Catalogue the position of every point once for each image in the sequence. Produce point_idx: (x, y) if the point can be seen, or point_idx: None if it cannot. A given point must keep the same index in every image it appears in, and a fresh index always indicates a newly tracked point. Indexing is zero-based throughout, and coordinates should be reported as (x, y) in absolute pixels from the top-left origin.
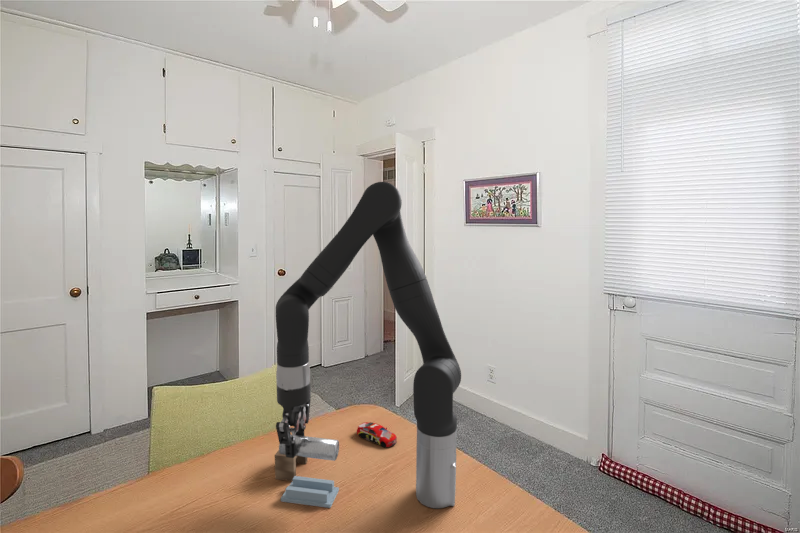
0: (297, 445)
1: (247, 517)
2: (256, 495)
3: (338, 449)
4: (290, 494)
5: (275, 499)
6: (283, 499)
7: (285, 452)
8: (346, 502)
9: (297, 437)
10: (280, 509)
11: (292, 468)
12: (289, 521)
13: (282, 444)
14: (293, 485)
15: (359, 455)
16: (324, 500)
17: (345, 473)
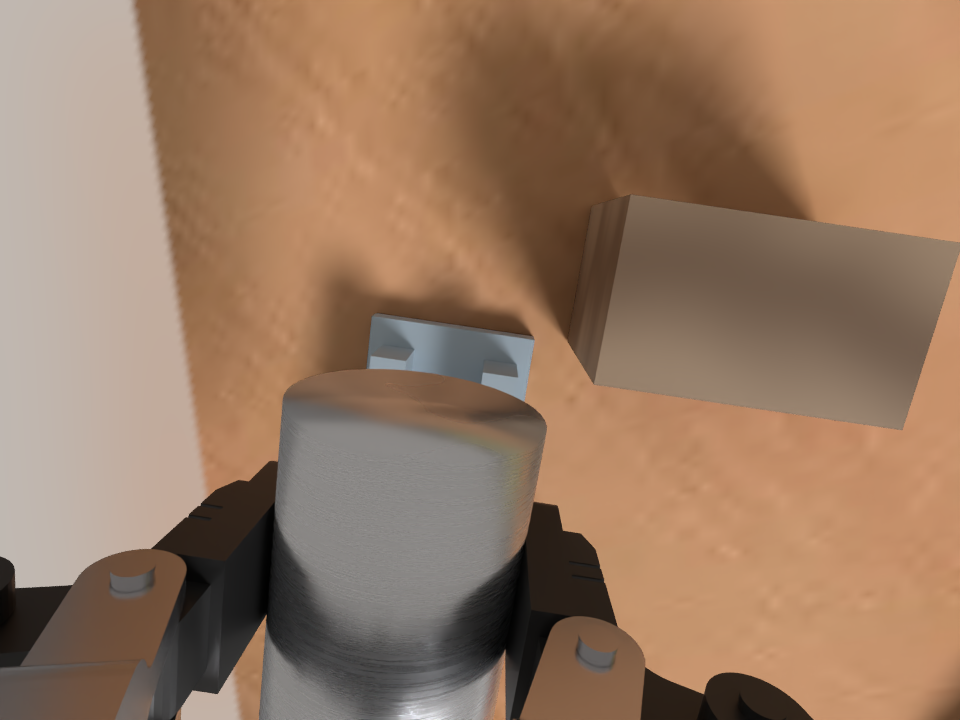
0: (271, 657)
1: (226, 155)
2: (420, 134)
3: None
4: None
5: (392, 274)
6: (370, 333)
7: (253, 477)
8: None
9: (351, 683)
10: (311, 331)
11: (581, 349)
12: (228, 408)
13: (279, 454)
14: (483, 366)
15: (830, 683)
16: None
17: (644, 626)
